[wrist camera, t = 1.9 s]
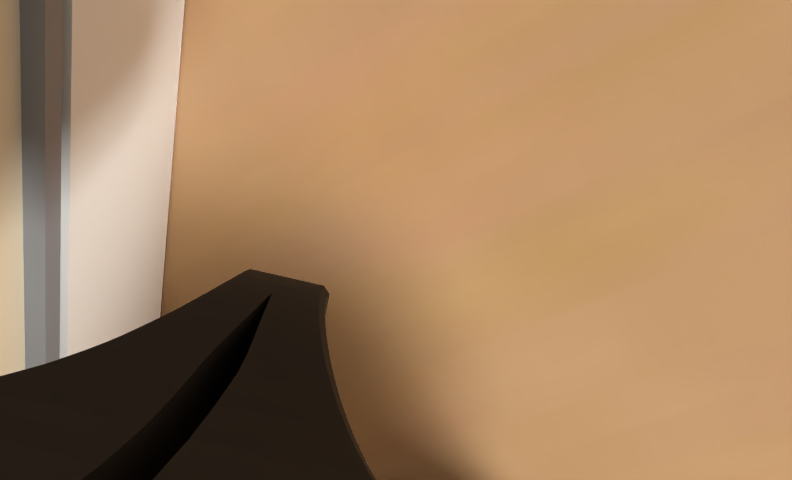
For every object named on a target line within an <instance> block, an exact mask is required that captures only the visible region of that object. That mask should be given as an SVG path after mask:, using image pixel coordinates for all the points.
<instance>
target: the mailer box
mask: <svg viewBox="0 0 792 480" xmlns="http://www.w3.org/2000/svg"><path fill="white" fill-rule="evenodd" d="M184 5H185V0H63V19H62V135H61V251H60V359H61V358H64V357H67V356H70V355H72V354H75V353H78V352H81V351H84V350H87V349H89V348H92V347H95V346H97V345H100V344H102V343H105V342H107V341H110V340H112V339H115V338H117V337H119V336H122V335H124V334H126V333H128V332H130V331H132V330H134V329H137V328H139V327H141V326H143V325H145V324H147V323H149V322H152V321H154V320H156V319H158V318H160V314H161V301H162V288H163V275H164V262H165V249H166V236H167V224H168V211H169V198H170V185H171V172H172V159H173V146H174V133H175V121H176V108H177V95H178V82H179V69H180V56H181V43H182V30H183V18H184Z"/></svg>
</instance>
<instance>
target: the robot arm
mask: <svg viewBox="0 0 792 480" xmlns="http://www.w3.org/2000/svg"><path fill="white" fill-rule="evenodd" d="M328 298H329V293H328V291H327V290H326V288H325V287H324V286H322V285H317V284H313V283H309V282H304V281H300V280H295V279H291V278H286V277H282V276H278V275H273V274H269V273H264V272H260V271H256V270H251V269H249V270H247V271H245V272H243V273H241V274H239V275H237V276H236V277H234V278H232V279H230V280H229V281H227V282H225V283H223V284H222V285H220V286H218V287H216V288H215V289H213V290H211V291H209V292H208V293H206V294H204V295H202V296H200V297H199V298H197V299H195V300H193V301H191V302H189V303H188V304H186V305H184V306H182V307H180V308H178V309H176V310H175V311H173V312H171V313H169V314H166V315H164V316H162V317H160V318H158V319H156V320H154V321H152V322H149V323H147V324H145V325H143V326H141V327H139V328H137V329H134V330H132V331H130V332H128V333H126V334H124V335H122V336H119V337H117V338H115V339H112V340H110V341H107V342H105V343H102V344H100V345H97V346H95V347H92V348H89V349H87V350H84V351H81V352H78V353H75V354H72V355H70V356H67V357H64V358H61V359H58V360H55V361H52V362H49V363H46V364H43V365H39V366H36V367H32V368H28V369H25V370H21V371H17V372H14V373H10V374H6V375H3V376H0V480H376V479H375V477H374V476H373V474H372V472H371V470H370V469H369V467H368V465H367V463H366V461H365V459H364V457H363V455H362V453H361V451H360V448H359V446H358V444H357V442H356V440H355V438H354V435H353V433H352V430H351V428H350V425H349V423H348V420H347V418H346V415H345V412H344V409H343V406H342V403H341V400H340V397H339V394H338V390H337V386H336V383H335V379H334V375H333V371H332V367H331V362H330V357H329V350H328V344H327V338H326V328H325V314H326V309H327V303H328Z"/></svg>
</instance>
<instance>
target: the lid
mask: <svg viewBox="0 0 792 480" xmlns="http://www.w3.org/2000/svg"><path fill="white" fill-rule="evenodd" d="M62 19H63V0H0V376H3V375H6V374H10V373H14V372H17V371H21V370H25V369H28V368H32V367H36V366H39V365H43V364H46V363H49V362H52V361H55V360H58V359H60V251H61V135H62Z"/></svg>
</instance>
